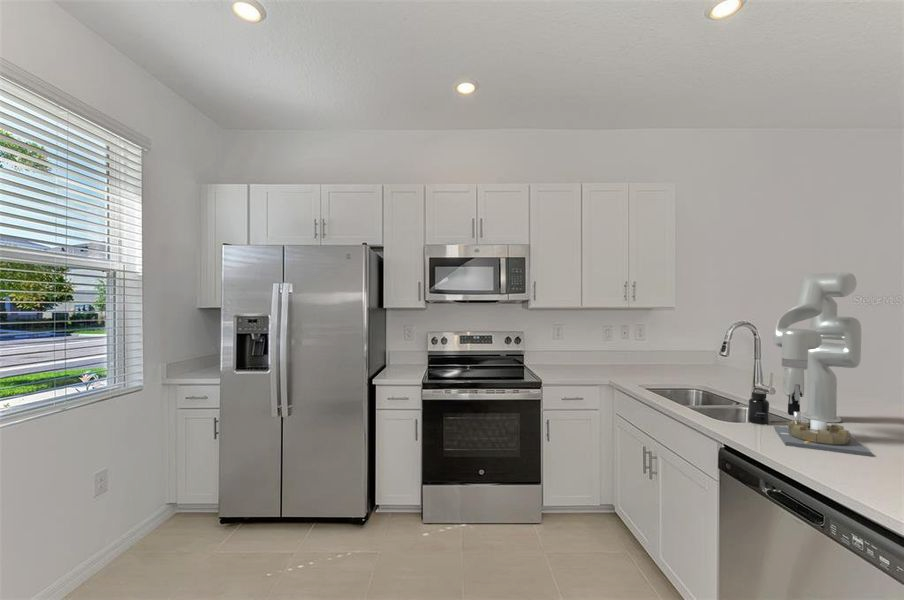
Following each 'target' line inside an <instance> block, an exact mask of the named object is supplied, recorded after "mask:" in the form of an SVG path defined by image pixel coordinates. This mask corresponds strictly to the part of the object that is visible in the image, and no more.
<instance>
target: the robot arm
mask: <svg viewBox="0 0 904 600" xmlns="http://www.w3.org/2000/svg"><path fill="white" fill-rule="evenodd" d="M856 288H857V278H856V276H855V275H854V273H852V272H832V273H831V272H828V273H827V272H824V273H823V272H822V273H809V274H806V275H804V276H802V277H801V280H800V286H799V290H798V293H797V296H796V297H797V298H796V301H795V305H794V306H792V307H790V309H788V310H786V311H785V312H784V313H782V314H781V315H780V316H779V318H778V319H777V321H776V322H775V326H774V330H773V334H772V341H773V344H774V346H776V347H777V348H781V368H782V369H783V376H782V377H783V379H782V393H783V394H784V395H786V397H787V399H788V400H787V402H788V403H787V414H788V415H789V416H794V411H798V412H801V411H800V410H801V405H800V403H801V398H803V397H804V395H805V371H806V412H805V411H804V412H801V417H803V418H805V419H806V420H822V421H826V422H827V423H832V424H833V423H840V422H842V418H841V417H839V416H837V407H838V406H837V401H838V398H837V397H838V396H837V395H838V394H837V392H838V389H837V387H838V379H837V375H836V374H835V372H834V371H833V370H832V369H831V367H835V368H845V369H847V368H848V369H855V368H858V366H859V365H861V364H860V363H861V359H862V358H861V357H862V325H861V322H860V321H859V319H857V318H856V317H853V316H839V315H838V303H837V302H836V301H835V299H834V298H845V297H848V296H850V295H851V294H853V293H854V292H855V291H856ZM809 319H810V325H809V329H805V328H792V327H791V328H790V326H792V325H794V324H796V323H799V322H802V321H805V320H809ZM823 340H833V341H834V340H835V341H836V340H837V341H844V342H845V343H836V342H825V341H823Z"/></svg>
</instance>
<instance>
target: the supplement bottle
mask: <svg viewBox="0 0 904 600" xmlns="http://www.w3.org/2000/svg"><path fill="white" fill-rule="evenodd" d="M747 405H748V408H747V409H748V412H747V421H748V422H749V423H752V424H754V425H755V424H756V425H762V426H764V425H765V424H767V425H769V420H770V414H769V413H770V402H769V400H767V393H766V392H762V391H752V392H751V397H750V398H749V399H748V404H747Z"/></svg>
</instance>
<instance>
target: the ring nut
mask: <svg viewBox="0 0 904 600" xmlns="http://www.w3.org/2000/svg"><path fill="white" fill-rule="evenodd" d="M792 417H793V419H792V420H790V422H789V423H788V427H789V433H790V435H792V436H794V437H797V438H799V439H803V440H807V441H812V442H817V443H824V444H832V445H845V444H848V443H850V435H851V433H850V432H849V431H850V430H847V429H845V428H844V426H842V425H839V424H833V423H832V424H831V425H828V424H827V430H821V429H818V430H814V429H810V420H811V419H807V422H806V421H801V418H802V412H801V411H800V412H798V411H794V415H792Z"/></svg>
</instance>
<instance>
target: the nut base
mask: <svg viewBox="0 0 904 600" xmlns="http://www.w3.org/2000/svg"><path fill="white" fill-rule="evenodd" d="M809 420H810V429H814V430H818V429H821V430H827V425H828V422H826V421H822V420H811V419H809ZM773 429H775V430H774V431H775V433H776V434H777V435H778V437H779V439H781V441H782V443H783V444H784V446H787V447H795V448H803V449H810V450H818V451H825V452H826V451H827V452H834V453H842V454H848V455H849V454H850V455H857V456H865V457H873V453H872V451H871V450H870V449H868V448H867V447H866V446H864V445H863V444H862V443H861V442H860V441H858V440H857V439H856V438H855V437H854V436H852V435H851V434H850V443H848V444H845V445H832V444H824V443H817V442H812V441H807V440H803V439H799V438H797V437H794V436H792V435H790V433H789V426H788V427H787V426H776V425H774V426H773Z"/></svg>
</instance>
